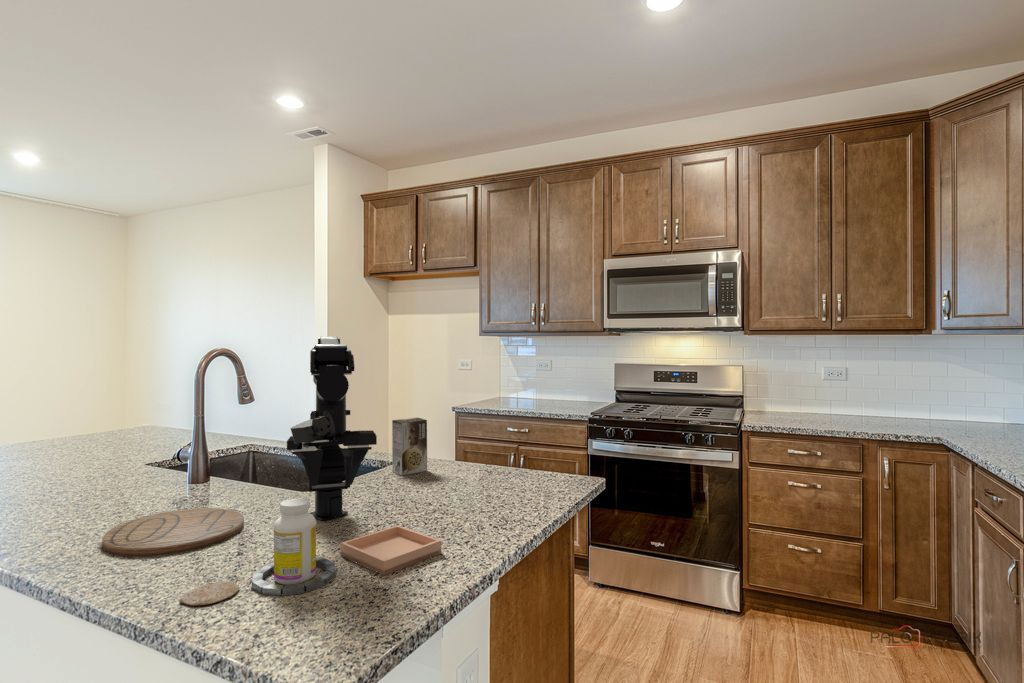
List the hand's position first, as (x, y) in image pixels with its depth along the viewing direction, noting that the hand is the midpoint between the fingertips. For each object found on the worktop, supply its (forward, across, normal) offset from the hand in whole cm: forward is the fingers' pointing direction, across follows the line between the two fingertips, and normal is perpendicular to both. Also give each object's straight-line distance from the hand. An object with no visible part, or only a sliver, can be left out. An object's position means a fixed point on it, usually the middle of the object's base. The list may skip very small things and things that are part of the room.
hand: (331, 485), depth 107 cm
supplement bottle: (+14, +4, -12) cm, 19 cm away
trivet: (+9, -35, -8) cm, 37 cm away
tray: (+13, +12, +4) cm, 18 cm away
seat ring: (+14, +4, -12) cm, 19 cm away
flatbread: (+15, -3, -22) cm, 27 cm away
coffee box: (+1, -25, +59) cm, 64 cm away
